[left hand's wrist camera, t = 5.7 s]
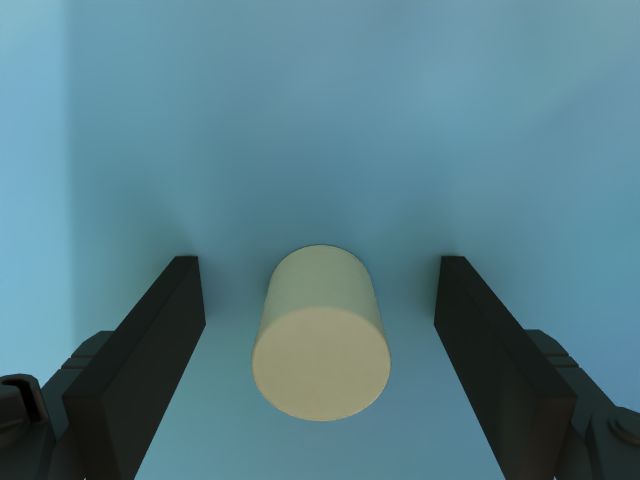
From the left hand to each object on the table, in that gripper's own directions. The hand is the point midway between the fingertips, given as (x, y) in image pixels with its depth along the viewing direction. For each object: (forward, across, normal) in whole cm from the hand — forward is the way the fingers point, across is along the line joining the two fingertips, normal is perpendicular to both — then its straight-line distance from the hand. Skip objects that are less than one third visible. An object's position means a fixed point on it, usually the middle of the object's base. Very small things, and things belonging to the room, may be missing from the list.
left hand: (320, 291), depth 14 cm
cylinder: (0, 0, 0) cm, 0 cm away
